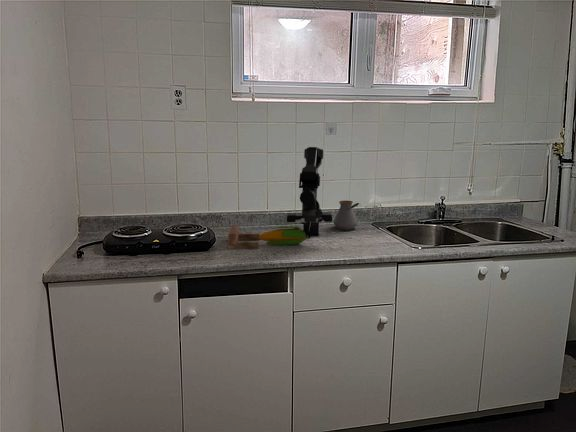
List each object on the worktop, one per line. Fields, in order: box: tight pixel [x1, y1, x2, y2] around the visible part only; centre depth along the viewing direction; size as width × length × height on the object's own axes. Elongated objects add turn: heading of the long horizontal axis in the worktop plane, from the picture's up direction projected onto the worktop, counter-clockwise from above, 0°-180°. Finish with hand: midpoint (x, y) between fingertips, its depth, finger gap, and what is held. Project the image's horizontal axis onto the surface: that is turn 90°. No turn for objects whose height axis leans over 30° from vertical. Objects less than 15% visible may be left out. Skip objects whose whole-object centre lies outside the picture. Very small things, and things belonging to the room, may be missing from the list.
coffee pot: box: [333, 200, 361, 231], centre depth 225 cm, size 21×12×15 cm, turn 13°
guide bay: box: [227, 225, 261, 250], centre depth 202 cm, size 12×15×6 cm
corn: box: [259, 225, 307, 246], centre depth 202 cm, size 7×8×20 cm
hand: (309, 237), depth 203 cm, fingers closed
